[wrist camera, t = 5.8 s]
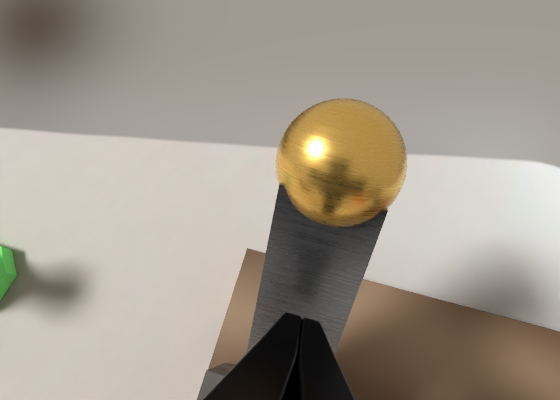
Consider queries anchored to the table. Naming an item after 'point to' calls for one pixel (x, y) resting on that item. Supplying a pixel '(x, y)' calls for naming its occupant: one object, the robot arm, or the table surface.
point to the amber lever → (328, 212)
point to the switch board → (412, 346)
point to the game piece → (6, 269)
